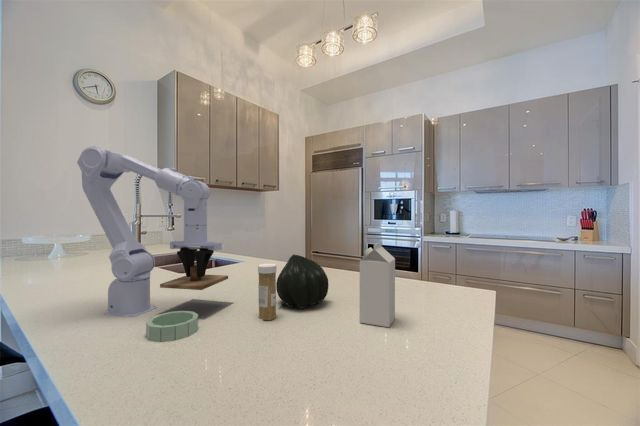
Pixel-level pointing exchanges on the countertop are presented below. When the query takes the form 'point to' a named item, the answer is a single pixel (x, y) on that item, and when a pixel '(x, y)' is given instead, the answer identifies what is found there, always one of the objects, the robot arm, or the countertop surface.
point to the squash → (302, 282)
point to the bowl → (171, 325)
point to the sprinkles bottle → (267, 291)
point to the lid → (194, 281)
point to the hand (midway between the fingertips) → (195, 276)
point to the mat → (200, 307)
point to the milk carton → (377, 287)
